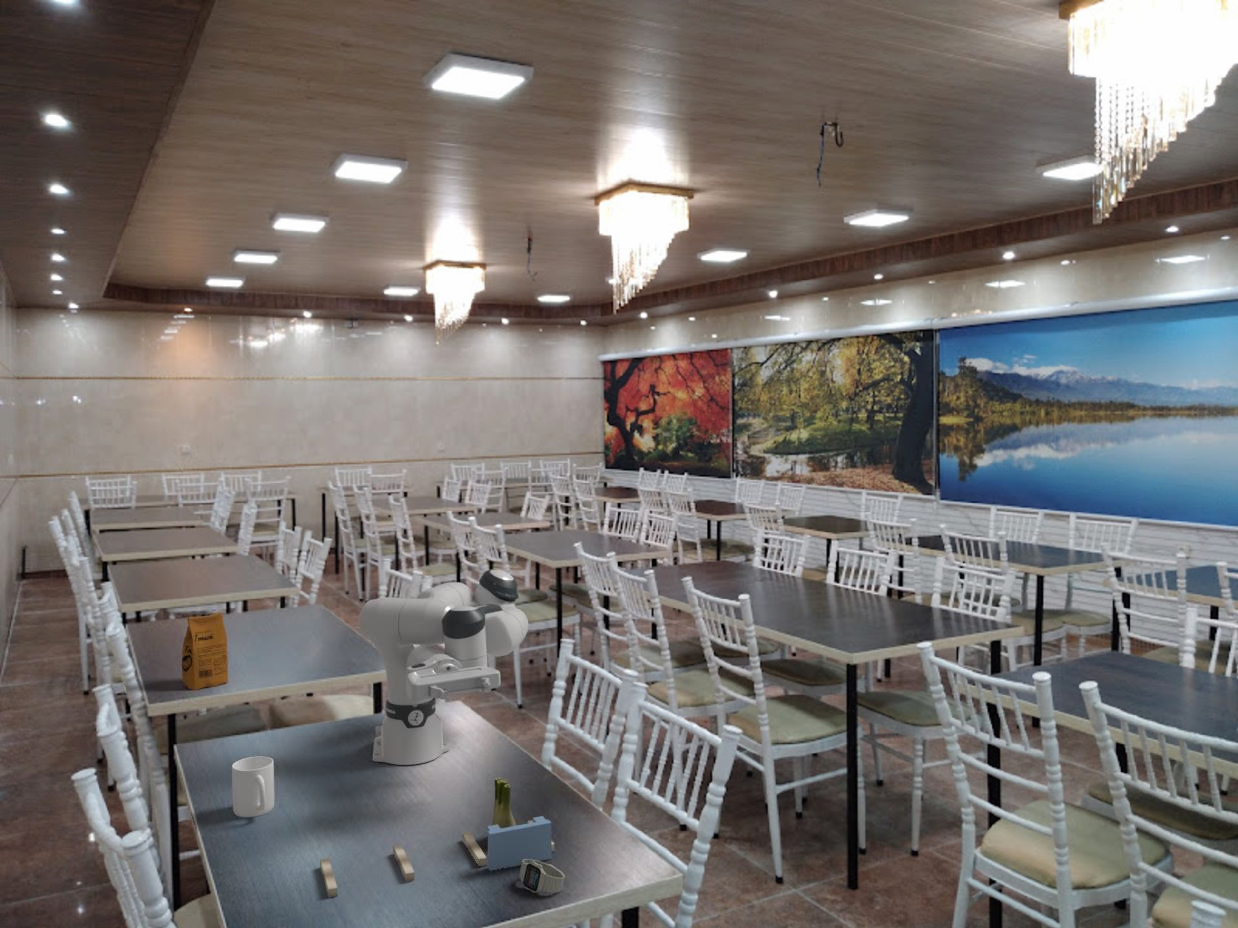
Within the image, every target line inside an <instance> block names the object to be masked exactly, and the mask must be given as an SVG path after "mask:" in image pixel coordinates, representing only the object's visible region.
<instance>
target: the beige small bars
mask: <svg viewBox="0 0 1238 928" xmlns="http://www.w3.org/2000/svg"><path fill="white" fill-rule="evenodd" d="M526 822H527V823H526V824H528V823H533V819H532V820H527V821H526ZM461 836H462V837H461V839H462V840H463V841H462V842H463V844H464V843H465V844H464V846H465V845H466V846H467V847H466V846H465V847H466V849H467V848H468V849H467V850H468V852H469V854H470V853H471V854H470V855H471V857H472V856H473V857H474V858H473V857H472V858H473V860H474V859H475V860H474V862H475V861H476V862H475V864H476V865H477V864H478V865H477V866H478V867H479V866H482V867H486V866H485V865H487V866H488V857H487V856H486V855H485V853H484V852H483V850H482V848H481V847H480V846H479V844H478V843H477V841H476V839H475V837H474V836H473V835H472V833H471V831H468V832H462V833H461ZM392 848H393V851H392V853H393V855H395V856H394V858H395V857H396V858H395V860H396V859H397V860H396V862H398V863H397V865H398V866H399V869H400V872H401V873H402V876H403V878H404V880H405V882H406V883H407V882H413V881H415V871H414V868H413V866H412V864H411V862H410V859H409V858H408V855H407V854H406V852H405V850H404V848H403V845H402V844H397V845H394V846H392ZM554 852H555V842H554V841H552V853H554ZM319 864H320V868H319V869H320V871H321V875H322V878H323V883H324V887H325V889H326V894H327V897H328V898H333V897H338V885H337V882H336V879H335V875H334V872H333V868H332V865H331V862H330V859H329V858H323V859H320V860H319Z"/></svg>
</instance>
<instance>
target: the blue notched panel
mask: <svg viewBox="0 0 1238 928" xmlns="http://www.w3.org/2000/svg"><path fill="white" fill-rule="evenodd" d="M532 820H533V823H528V824H527V823H524V824H518V825H517V824H516V826H512V827H507V828H500V827H499V826H498V824H497V825H492V824H491V825H487V826H486V827H487V828H486V830H487V868H488V870H489V871H490V872H493V871H492V870H495V871H498V870H497V869H499V870H502V869H501V868H504V869H508V867H509V868H513V867H518V866H521V865H522V860H524V859H532V860H537V861H540V862H543V861H547V860H551V859H553V856H552V855H553V854H552V853H553V852H552V842H553V841H552V822H551V821H550V819H546V818H545V817H544V816H543V815H540V816H536V817H532Z"/></svg>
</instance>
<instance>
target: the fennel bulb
mask: <svg viewBox="0 0 1238 928" xmlns="http://www.w3.org/2000/svg"><path fill="white" fill-rule="evenodd" d="M492 814H493V816H492V823H491V826H492V825H497V824H498V826H499V827H500V828H507V827H512V826H517V824H516V821H515V818H514V816H513V813H512V808H511V785H510V784H509V782H508V780H503V779H502V778H501V777H494V807H493V813H492Z"/></svg>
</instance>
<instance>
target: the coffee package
mask: <svg viewBox="0 0 1238 928" xmlns="http://www.w3.org/2000/svg"><path fill="white" fill-rule="evenodd" d="M224 622H225V621H224V617H223V613H222V612H221V611H220V612H215V613H214V614H210V615H207V616H187V625H188V626H187V629H186V634H185V636H184V638H183V639H184V640H183V645H182V651H181V654H182V655H181V678H182V679H181V681H182V682H183V686H184V687H186V688H188V690H192V691H197V690H198V691H199V690H201V689H203V688H214V687H218V686H221V685H224V684H227V683H228V682H229V663H228V661H229V660H228V657H229V656H228V639H227V637H228V636H227V630H226V627H225V623H224Z"/></svg>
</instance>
